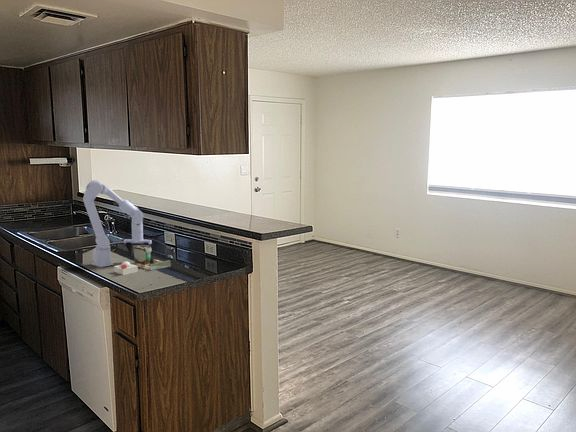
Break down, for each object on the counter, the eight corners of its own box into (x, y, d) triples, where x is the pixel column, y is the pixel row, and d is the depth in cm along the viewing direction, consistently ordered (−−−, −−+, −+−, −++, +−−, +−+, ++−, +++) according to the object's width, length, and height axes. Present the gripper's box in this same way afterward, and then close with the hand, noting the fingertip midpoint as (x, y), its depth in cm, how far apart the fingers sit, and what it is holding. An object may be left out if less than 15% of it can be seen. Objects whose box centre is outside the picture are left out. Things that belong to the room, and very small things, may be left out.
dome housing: (114, 272, 238) (113, 262, 237) (128, 269, 244) (128, 259, 243) (123, 275, 233) (123, 265, 232) (137, 271, 239) (137, 262, 238)
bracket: (135, 265, 251) (134, 260, 250) (154, 262, 260) (154, 256, 260) (151, 270, 242) (150, 264, 242) (170, 266, 251) (170, 260, 251)
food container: (157, 265, 252) (156, 247, 250) (146, 268, 247) (146, 248, 246) (143, 262, 259) (142, 243, 258) (133, 264, 255) (132, 245, 253)
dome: (118, 270, 238) (118, 261, 237) (127, 269, 242) (127, 259, 241) (124, 272, 235) (124, 263, 234) (133, 270, 239) (132, 261, 238)
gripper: (121, 232, 254) (121, 257, 255) (148, 233, 253) (148, 258, 255) (126, 230, 260) (127, 255, 262) (152, 231, 260) (153, 255, 262)
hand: (138, 256), depth 259 cm, fingers open, 7 cm apart
